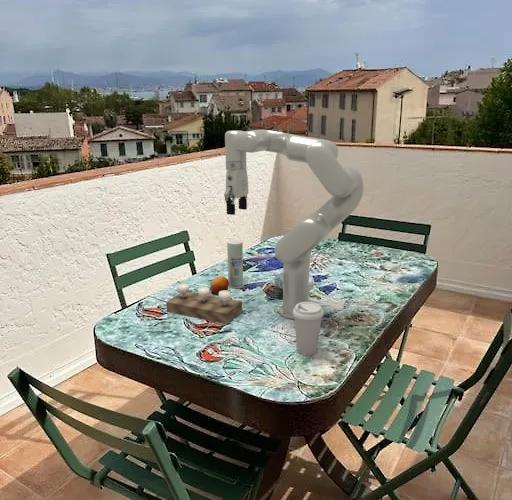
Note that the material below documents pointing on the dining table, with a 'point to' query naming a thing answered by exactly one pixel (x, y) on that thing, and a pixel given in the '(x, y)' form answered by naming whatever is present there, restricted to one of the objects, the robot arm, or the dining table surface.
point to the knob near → (224, 296)
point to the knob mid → (203, 293)
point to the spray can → (235, 263)
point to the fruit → (219, 284)
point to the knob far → (183, 289)
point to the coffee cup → (307, 326)
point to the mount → (204, 307)
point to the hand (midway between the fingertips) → (237, 211)
